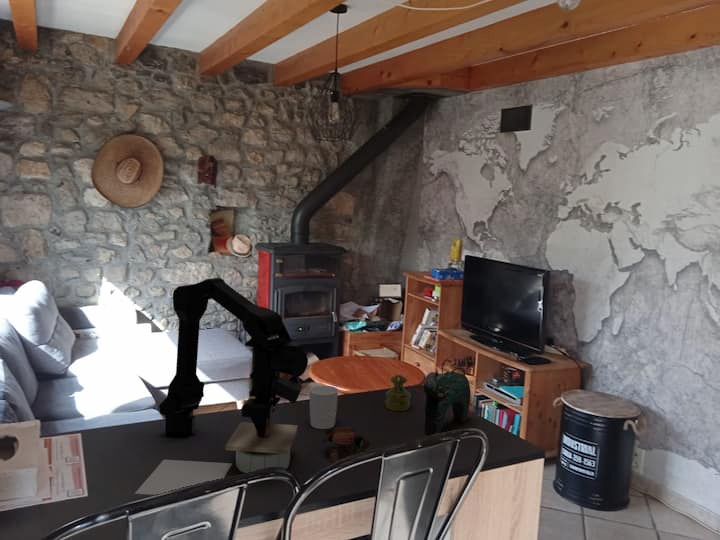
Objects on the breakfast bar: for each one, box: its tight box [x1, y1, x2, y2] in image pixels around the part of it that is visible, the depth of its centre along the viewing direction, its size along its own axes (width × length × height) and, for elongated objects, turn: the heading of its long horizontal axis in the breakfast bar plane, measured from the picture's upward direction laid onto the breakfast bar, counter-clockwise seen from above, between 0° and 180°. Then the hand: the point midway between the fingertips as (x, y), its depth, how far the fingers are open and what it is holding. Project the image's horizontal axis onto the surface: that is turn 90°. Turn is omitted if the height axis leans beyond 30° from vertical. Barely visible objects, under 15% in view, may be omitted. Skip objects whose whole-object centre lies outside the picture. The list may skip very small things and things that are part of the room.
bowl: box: [235, 450, 291, 474], centre depth 137 cm, size 12×12×5 cm
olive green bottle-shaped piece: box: [385, 374, 412, 412], centre depth 180 cm, size 7×7×10 cm
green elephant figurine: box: [423, 358, 471, 436], centre depth 164 cm, size 20×6×20 cm, turn 139°
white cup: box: [309, 385, 339, 430], centre depth 164 cm, size 8×8×10 cm
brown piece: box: [321, 426, 371, 464], centre depth 145 cm, size 12×10×8 cm
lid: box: [224, 419, 299, 454], centre depth 137 cm, size 14×14×5 cm
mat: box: [134, 459, 233, 496], centre depth 129 cm, size 16×16×1 cm
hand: (263, 433), depth 137 cm, fingers closed on lid, 3 cm apart
